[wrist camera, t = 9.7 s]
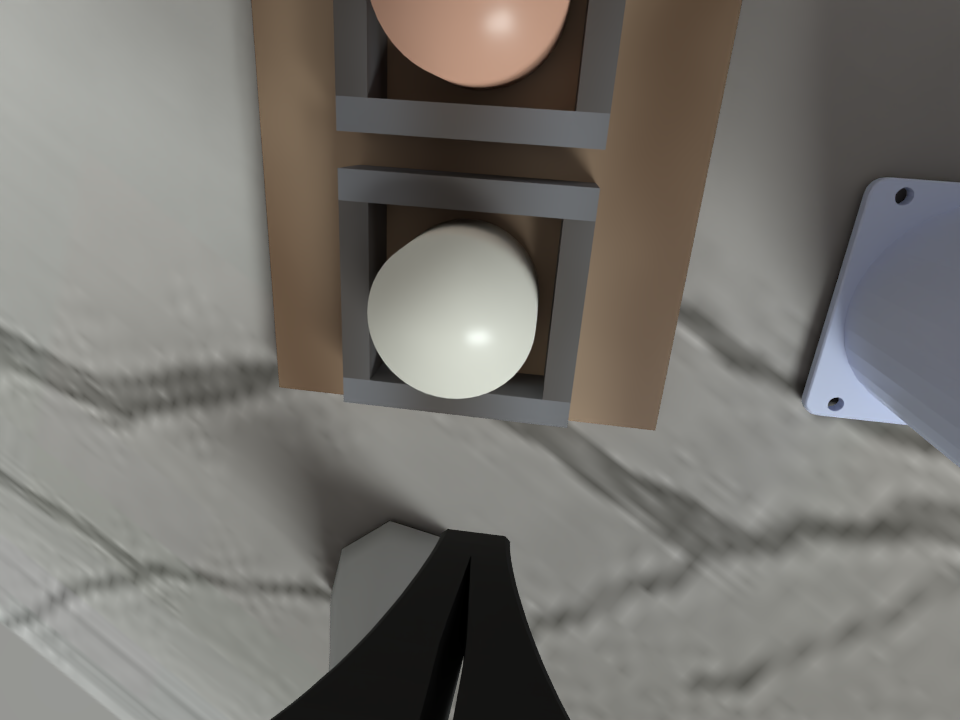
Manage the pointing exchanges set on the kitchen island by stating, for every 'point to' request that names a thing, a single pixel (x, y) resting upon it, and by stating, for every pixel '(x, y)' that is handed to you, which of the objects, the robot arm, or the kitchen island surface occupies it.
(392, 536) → the flask
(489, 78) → the terracotta key
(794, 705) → the kitchen island surface
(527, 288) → the cream rounded piece
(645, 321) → the three-slot key tray
